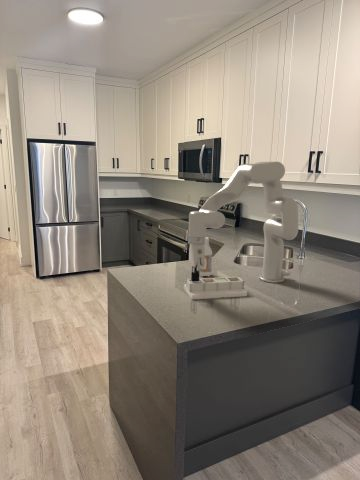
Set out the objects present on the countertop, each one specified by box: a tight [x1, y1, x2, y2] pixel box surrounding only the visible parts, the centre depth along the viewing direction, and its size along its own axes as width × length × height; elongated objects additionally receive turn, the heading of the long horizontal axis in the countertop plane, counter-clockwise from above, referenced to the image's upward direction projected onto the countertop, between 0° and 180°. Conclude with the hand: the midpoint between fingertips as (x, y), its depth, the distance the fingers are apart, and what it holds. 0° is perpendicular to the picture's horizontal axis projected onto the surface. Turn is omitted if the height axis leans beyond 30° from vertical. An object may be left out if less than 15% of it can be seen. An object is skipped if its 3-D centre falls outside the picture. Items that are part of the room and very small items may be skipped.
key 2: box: [215, 279, 227, 282], centre depth 147 cm, size 4×4×2 cm
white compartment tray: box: [183, 276, 248, 300], centre depth 147 cm, size 25×14×6 cm, turn 102°
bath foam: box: [199, 236, 213, 277], centre depth 170 cm, size 7×7×20 cm
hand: (195, 280), depth 144 cm, fingers closed
